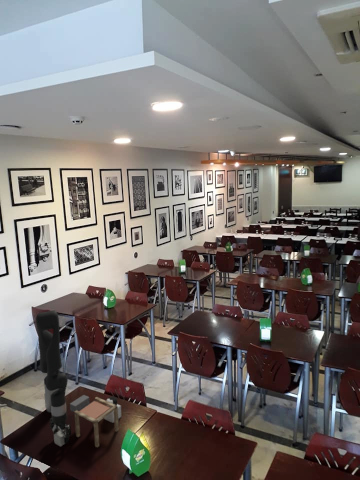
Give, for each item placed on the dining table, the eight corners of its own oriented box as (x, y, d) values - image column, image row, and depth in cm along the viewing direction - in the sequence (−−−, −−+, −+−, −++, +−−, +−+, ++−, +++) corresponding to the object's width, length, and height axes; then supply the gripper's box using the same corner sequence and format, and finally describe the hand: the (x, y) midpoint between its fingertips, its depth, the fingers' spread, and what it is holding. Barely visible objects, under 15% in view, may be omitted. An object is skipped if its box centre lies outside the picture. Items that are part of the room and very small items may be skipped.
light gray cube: (54, 443, 190) (53, 434, 189) (62, 437, 194) (61, 429, 193) (60, 446, 187) (60, 438, 187) (68, 441, 191) (67, 432, 191)
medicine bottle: (112, 412, 215) (111, 393, 213) (121, 416, 211) (120, 397, 209) (103, 419, 209) (102, 399, 207) (112, 423, 205) (111, 403, 203)
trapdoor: (68, 411, 199) (68, 404, 198) (85, 400, 209) (85, 393, 208) (94, 423, 188) (94, 416, 187) (110, 411, 198) (110, 404, 197)
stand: (76, 436, 195) (74, 411, 193) (98, 420, 208) (96, 396, 206) (97, 447, 186) (95, 421, 184) (118, 430, 199) (117, 405, 197)
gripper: (44, 410, 189) (46, 439, 191) (62, 419, 181) (64, 449, 183) (56, 403, 195) (58, 430, 197) (74, 411, 187) (76, 440, 189)
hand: (61, 439), depth 190 cm, fingers open, 8 cm apart
